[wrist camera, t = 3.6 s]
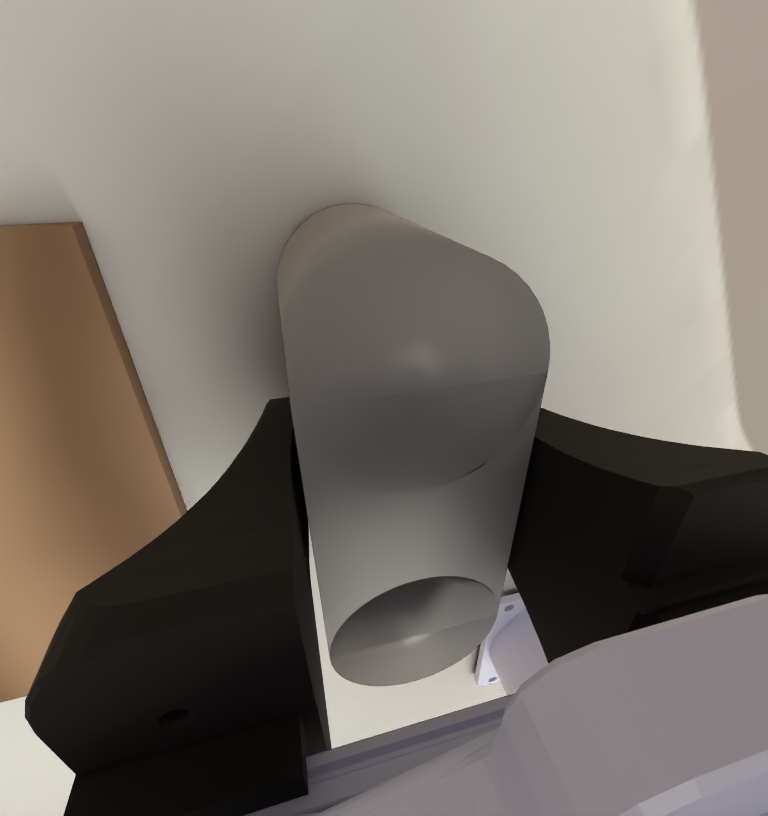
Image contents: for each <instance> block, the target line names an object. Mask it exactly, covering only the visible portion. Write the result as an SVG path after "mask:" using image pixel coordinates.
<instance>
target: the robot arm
mask: <svg viewBox="0 0 768 816" xmlns="http://www.w3.org/2000/svg"><path fill="white" fill-rule="evenodd" d="M507 567H508V569H509V571H510V574H511V576H512V578H513V580H514V583H515V585H516V587H517V589H518V591H519V593H515V594H511V595H507V596H503V597H501V600H500V604H499V609H498V614H497V618H496V621H495V623H494V625H493V627H492V629H491V631H490V632H489V634H488V635H487V636H486V638H485V639H484V640H483V641H482V642H481V645H480V651H479V656H478V661H477V667H476V672H475V681H476V684H477V685H478V686H484V685H488V684H491V683H495V682H498V681H501V683H502V685H503V688H504V690H505V692H506V694H507V696H504V697H501V698H498V699H494V700H491V701H488V702H485V703H481V704H478V705H475V706H471V707H468V708H465V709H462V710H458V711H455V712H452V713H448V714H445V715H442V716H439V717H435V718H432V719H429V720H425V721H422V722H419V723H416V724H412V725H409V726H406V727H402V728H399V729H396V730H393V731H389V732H386V733H383V734H380V735H376V736H373V737H370V738H366V739H363V740H360V741H357V742H353V743H350V744H347V745H343V746H340V747H337V748H334V749H332V748H331V741H330V733H329V725H328V717H327V709H326V701H325V693H324V686H323V678H322V670H321V662H320V654H319V646H318V637H317V629H316V621H315V613H314V605H313V597H312V588H311V580H310V566H309V528H308V515H307V508H306V502H305V496H304V489H303V483H302V476H301V470H300V464H299V457H298V451H297V444H296V438H295V432H294V425H293V419H292V412H291V405H290V397H287V398H279V399H272V400H269V402H268V403H267V404H266V406H265V409H264V411H263V413H262V415H261V417H260V419H259V421H258V423H257V425H256V427H255V429H254V430H253V432H252V434H251V435H250V437H249V439H248V440H247V442H246V444H245V445H244V447H243V448H242V450H241V451H240V452H239V454H238V455H237V457H236V458H235V460H234V461H233V462H232V464H231V465H230V466H229V468H228V469H227V470H226V472H225V473H224V474H223V475H222V476H221V478H220V479H219V480H218V481H217V482H216V483H215V485H214V486H213V487H212V488H211V489H210V490H209V491H208V492H207V493H206V494H205V495H204V496H203V497H202V498H201V499H200V500H199V501H198V502H197V503H196V504H195V505H194V506H193V507H191V508H190V509H189V510H188V511H187V512H186V513H185V514H184V515H183V516H182V517H181V518H180V519H178V520H177V521H176V522H175V523H174V524H172V525H171V526H170V527H169V528H168V529H166V530H165V531H164V532H163V533H161V534H160V535H159V536H158V537H156V538H155V539H154V540H152V541H151V542H150V543H148V544H147V545H146V546H144V547H143V548H142V549H140V550H139V551H138V552H136V553H135V554H133V555H132V556H131V557H129V558H128V559H126V560H125V561H123V562H122V563H120V564H119V565H117V566H116V567H114V568H113V569H111V570H110V571H108V572H106V573H105V574H103V575H102V576H100V577H99V578H97V579H96V580H94V581H93V582H91V583H90V584H88V585H87V586H85V587H83V588H82V589H80V590H79V591H77V592H76V593H75V595H74V597H73V599H72V601H71V603H70V605H69V606H68V608H67V610H66V612H65V613H64V615H63V617H62V619H61V621H60V623H59V625H58V627H57V629H56V631H55V633H54V636H53V638H52V640H51V642H50V644H49V647H48V649H47V651H46V654H45V656H44V658H43V661H42V663H41V665H40V667H39V670H38V672H37V674H36V677H35V679H34V681H33V684H32V686H31V688H30V691H29V693H28V695H27V697H26V700H25V718H26V720H27V721H28V723H29V724H30V726H31V728H32V729H33V731H34V732H35V734H36V735H37V736H38V737H39V738H40V739H41V740H42V741H43V742H44V743H45V744H46V745H47V746H48V747H49V748H50V749H51V750H52V751H53V752H54V753H55V754H56V755H57V756H58V757H59V758H60V759H61V760H62V761H63V762H64V763H65V764H66V765H67V766H68V767H69V768H70V769H71V770H72V771H73V772H74V773H75V774H76V776H75V780H74V783H73V786H72V789H71V793H70V796H69V799H68V803H67V806H66V809H65V813H64V816H768V455H766V454H763V453H761V452H753V451H743V450H733V449H723V448H713V447H703V446H695V445H688V444H681V443H675V442H668V441H662V440H657V439H651V438H646V437H640V436H636V435H631V434H627V433H623V432H618V431H614V430H609V429H606V428H602V427H598V426H594V425H591V424H588V423H584V422H581V421H578V420H574V419H571V418H568V417H565V416H562V415H559V414H556V413H554V412H551V411H548V410H546V409H543V408H540V411H539V416H538V421H537V426H536V431H535V436H534V440H533V445H532V450H531V455H530V460H529V464H528V469H527V474H526V479H525V484H524V489H523V493H522V498H521V503H520V508H519V513H518V518H517V522H516V527H515V532H514V537H513V542H512V547H511V551H510V556H509V561H508V566H507Z"/></svg>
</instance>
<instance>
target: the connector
mask: <svg viewBox="0 0 768 816" xmlns="http://www.w3.org/2000/svg"><path fill="white" fill-rule="evenodd" d="M277 289H278V299H279V308H280V317H281V326H282V334H283V343H284V352H285V361H286V370H287V379H288V387H289V396H290V405H291V412H292V419H293V425H294V432H295V438H296V444H297V451H298V457H299V464H300V470H301V476H302V483H303V489H304V496H305V502H306V508H307V515H308V521H309V528H310V534H311V540H312V547H313V553H314V560H315V566H316V572H317V579H318V585H319V592H320V598H321V604H322V611H323V617H324V624H325V630H326V636H327V643H328V649H329V656H330V660H331V664H332V666H333V668H334V669H335V671H336V672H337V673H338V674H339V675H340V676H342V677H343V678H345V679H347V680H349V681H351V682H354V683H357V684H361V685H367V686H390V685H398V684H404V683H408V682H412V681H416V680H419V679H422V678H425V677H428V676H431V675H433V674H436V673H438V672H440V671H442V670H444V669H446V668H448V667H450V666H452V665H453V664H455V663H457V662H458V661H460V660H461V659H463V658H464V657H465V656H467V655H468V654H469V653H471V652H472V651H473V650H474V649H475V648H476V647H477V646H478V645H479V644H480V643H481V642H482V641H483V640H484V639H485V638H486V636H487V635H488V634H489V632H490V631H491V629H492V627H493V625H494V623H495V621H496V618H497V614H498V609H499V604H500V600H501V595H502V590H503V585H504V580H505V576H506V571H507V566H508V561H509V556H510V551H511V547H512V542H513V537H514V532H515V527H516V522H517V518H518V513H519V508H520V503H521V498H522V493H523V489H524V484H525V479H526V474H527V469H528V464H529V460H530V455H531V450H532V445H533V440H534V436H535V431H536V426H537V421H538V416H539V411H540V407H541V402H542V397H543V392H544V387H545V382H546V378H547V373H548V366H549V359H550V341H549V333H548V326H547V323H546V319H545V316H544V313H543V310H542V308H541V306H540V304H539V302H538V299H537V298H536V296H535V295H534V293H533V292H532V290H531V289H530V287H529V286H528V285H527V284H526V283H525V282H524V281H523V280H522V279H521V278H520V276H519V275H518V274H516V273H515V272H514V271H512V270H511V269H510V268H508V267H507V266H506V265H504V264H502V263H501V262H499V261H497V260H495V259H493V258H491V257H489V256H487V255H484V254H482V253H480V252H477V251H475V250H473V249H471V248H468V247H466V246H464V245H461V244H459V243H457V242H455V241H452V240H450V239H448V238H445V237H443V236H441V235H438V234H436V233H434V232H432V231H429V230H427V229H425V228H422V227H420V226H418V225H416V224H413V223H411V222H409V221H406V220H404V219H402V218H399V217H397V216H395V215H393V214H390V213H388V212H386V211H383V210H381V209H378V208H376V207H373V206H369V205H363V204H341V205H336V206H332V207H329V208H326V209H324V210H322V211H319V212H317V213H316V214H314V215H313V216H311V217H309V218H308V219H307V220H306V221H305V222H303V223H302V224H301V225H300V226H299V227H298V228H297V229H296V231H295V232H294V233H293V234H292V236H291V237H290V239H289V240H288V242H287V244H286V246H285V248H284V250H283V252H282V255H281V258H280V261H279V266H278V272H277Z"/></svg>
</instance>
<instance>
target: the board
mask: <svg viewBox="0 0 768 816" xmlns="http://www.w3.org/2000/svg"><path fill="white" fill-rule="evenodd" d="M186 512H187V510H186V507H185V505H184V502H183V499H182V496H181V494H180V491H179V488H178V485H177V483H176V480H175V477H174V474H173V472H172V469H171V466H170V463H169V461H168V458H167V455H166V452H165V450H164V447H163V444H162V441H161V439H160V436H159V433H158V430H157V428H156V425H155V422H154V419H153V417H152V414H151V411H150V408H149V406H148V403H147V400H146V397H145V395H144V392H143V389H142V386H141V384H140V381H139V378H138V375H137V373H136V370H135V367H134V364H133V362H132V359H131V356H130V353H129V351H128V348H127V345H126V342H125V340H124V337H123V334H122V331H121V329H120V326H119V323H118V320H117V318H116V315H115V312H114V309H113V307H112V304H111V301H110V298H109V296H108V293H107V290H106V287H105V285H104V282H103V279H102V276H101V274H100V271H99V268H98V265H97V263H96V260H95V257H94V254H93V251H92V249H91V246H90V243H89V240H88V238H87V235H86V232H85V229H84V227H83V224H82V222H70V223H49V224H27V225H6V226H0V702H4V701H8V700H12V699H16V698H20V697H25V696H27V695H28V693H29V691H30V688H31V686H32V684H33V681H34V679H35V677H36V674H37V672H38V670H39V667H40V665H41V663H42V661H43V658H44V656H45V654H46V651H47V649H48V647H49V644H50V642H51V640H52V638H53V636H54V633H55V631H56V629H57V627H58V625H59V623H60V621H61V619H62V617H63V615H64V613H65V612H66V610H67V608H68V606H69V605H70V603H71V601H72V599H73V597H74V595H75V593H76V592H77V591H79V590H80V589H82V588H83V587H85V586H87V585H88V584H90V583H91V582H93V581H94V580H96V579H97V578H99V577H100V576H102V575H103V574H105V573H106V572H108V571H110V570H111V569H113V568H114V567H116V566H117V565H119V564H120V563H122V562H123V561H125V560H126V559H128V558H129V557H131V556H132V555H133V554H135V553H136V552H138V551H139V550H140V549H142V548H143V547H144V546H146V545H147V544H148V543H150V542H151V541H152V540H154V539H155V538H156V537H158V536H159V535H160V534H161V533H163V532H164V531H165V530H166V529H168V528H169V527H170V526H171V525H172V524H174V523H175V522H176V521H177V520H178V519H180V518H181V517H182V516H183V515H184V514H185V513H186Z"/></svg>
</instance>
